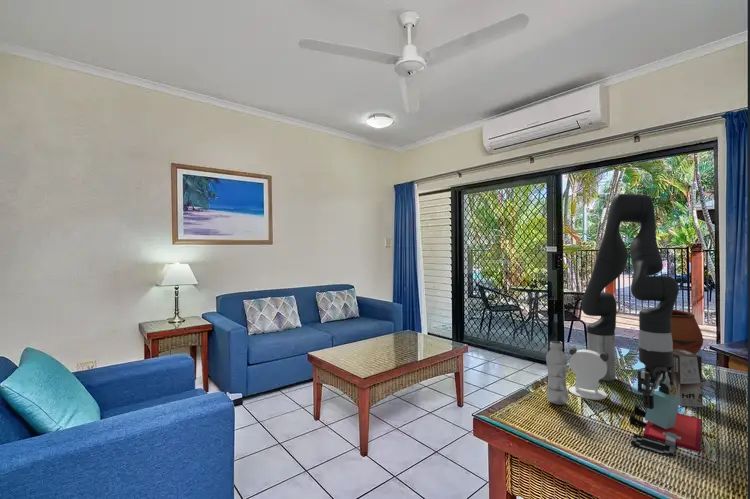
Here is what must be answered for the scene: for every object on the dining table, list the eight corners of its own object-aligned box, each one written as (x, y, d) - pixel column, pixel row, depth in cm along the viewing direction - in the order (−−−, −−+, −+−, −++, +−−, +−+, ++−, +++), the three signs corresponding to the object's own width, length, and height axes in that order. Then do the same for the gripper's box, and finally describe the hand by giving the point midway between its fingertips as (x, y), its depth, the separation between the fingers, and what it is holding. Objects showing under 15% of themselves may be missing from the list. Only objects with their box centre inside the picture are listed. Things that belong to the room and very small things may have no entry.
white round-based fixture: (609, 391, 125) (609, 349, 125) (608, 402, 116) (607, 357, 116) (571, 384, 132) (570, 344, 132) (566, 394, 123) (566, 351, 123)
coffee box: (704, 407, 111) (702, 356, 111) (680, 406, 113) (679, 355, 113) (684, 396, 120) (683, 348, 120) (663, 394, 121) (662, 348, 122)
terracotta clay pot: (650, 379, 136) (649, 314, 136) (636, 364, 154) (634, 307, 154) (714, 385, 129) (713, 317, 129) (691, 369, 146) (690, 309, 147)
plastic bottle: (567, 400, 118) (566, 340, 118) (569, 409, 112) (568, 345, 112) (546, 397, 120) (545, 339, 121) (546, 405, 114) (545, 343, 115)
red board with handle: (621, 444, 92) (699, 468, 82) (621, 433, 92) (699, 456, 82) (637, 407, 114) (701, 423, 104) (637, 399, 114) (701, 414, 104)
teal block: (644, 419, 100) (650, 391, 100) (653, 417, 102) (658, 390, 102) (665, 429, 96) (671, 400, 95) (674, 426, 98) (679, 398, 98)
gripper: (652, 340, 106) (654, 394, 106) (626, 347, 99) (627, 405, 99) (683, 346, 99) (685, 404, 99) (657, 353, 93) (659, 415, 92)
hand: (656, 404), depth 99 cm, fingers open, 8 cm apart
